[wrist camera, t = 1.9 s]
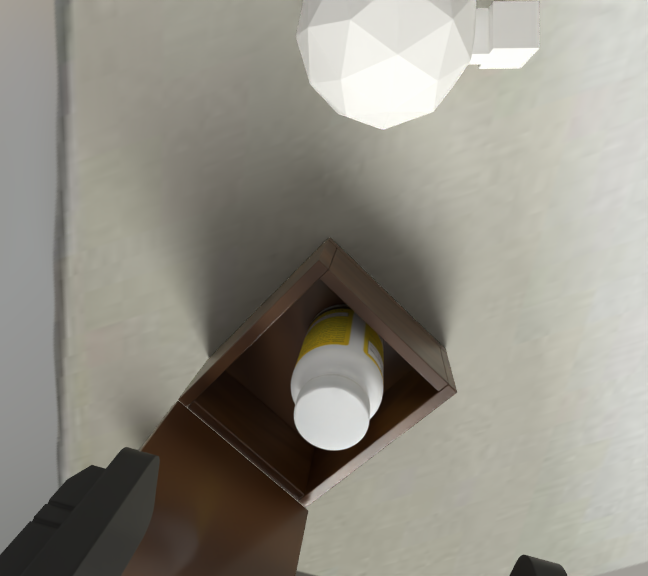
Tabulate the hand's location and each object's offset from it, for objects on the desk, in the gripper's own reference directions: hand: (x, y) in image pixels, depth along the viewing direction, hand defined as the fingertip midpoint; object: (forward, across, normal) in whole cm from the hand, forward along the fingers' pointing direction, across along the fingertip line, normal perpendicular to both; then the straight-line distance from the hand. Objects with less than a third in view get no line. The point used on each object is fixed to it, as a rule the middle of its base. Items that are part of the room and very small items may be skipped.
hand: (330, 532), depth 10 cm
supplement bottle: (+23, 0, -6) cm, 24 cm away
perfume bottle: (+24, -1, +12) cm, 27 cm away
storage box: (+24, -1, -8) cm, 25 cm away
